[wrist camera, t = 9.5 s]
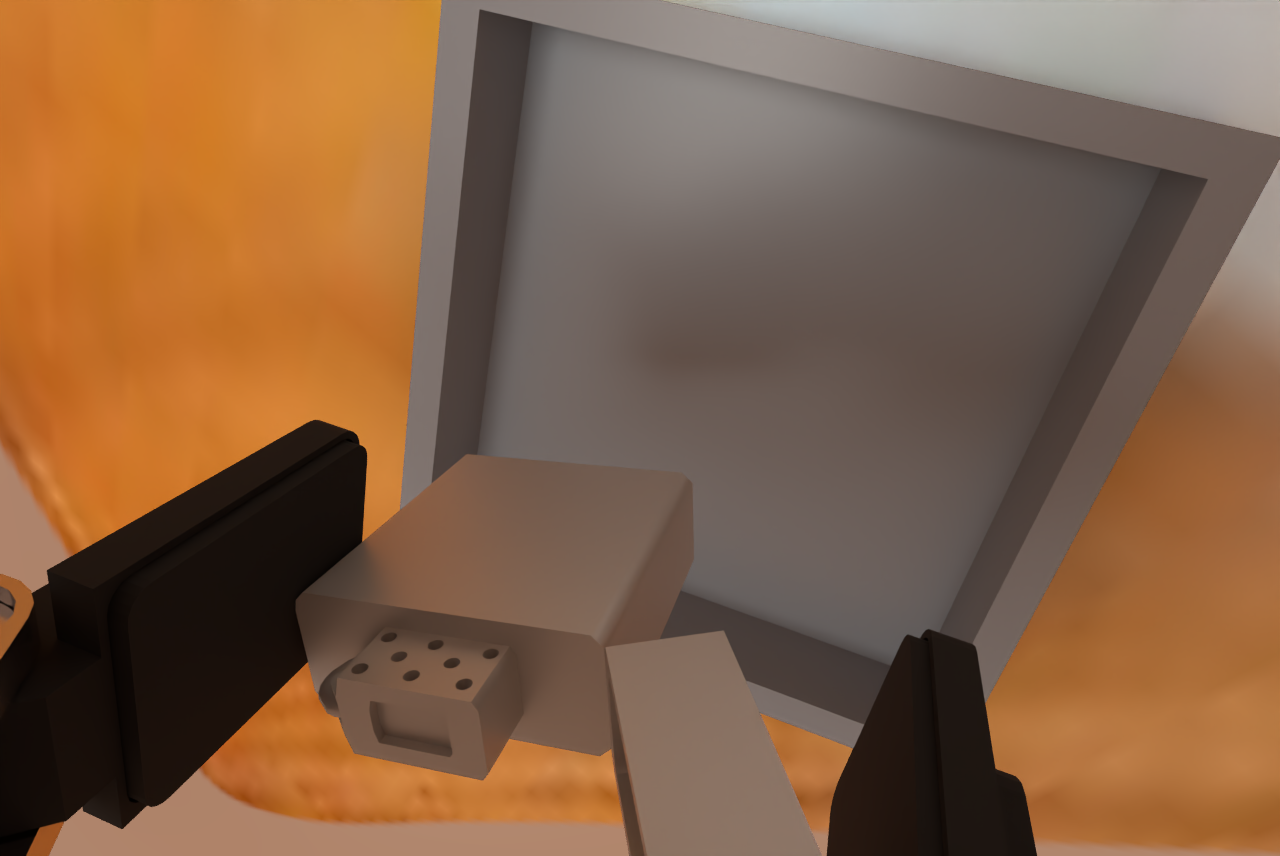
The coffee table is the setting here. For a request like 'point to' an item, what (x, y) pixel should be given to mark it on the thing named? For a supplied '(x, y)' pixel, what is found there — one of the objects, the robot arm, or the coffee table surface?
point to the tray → (808, 311)
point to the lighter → (552, 649)
